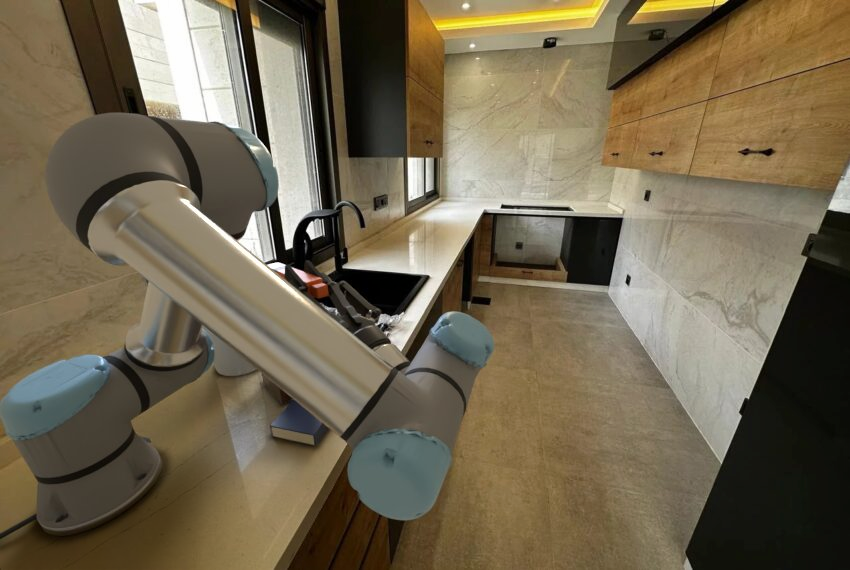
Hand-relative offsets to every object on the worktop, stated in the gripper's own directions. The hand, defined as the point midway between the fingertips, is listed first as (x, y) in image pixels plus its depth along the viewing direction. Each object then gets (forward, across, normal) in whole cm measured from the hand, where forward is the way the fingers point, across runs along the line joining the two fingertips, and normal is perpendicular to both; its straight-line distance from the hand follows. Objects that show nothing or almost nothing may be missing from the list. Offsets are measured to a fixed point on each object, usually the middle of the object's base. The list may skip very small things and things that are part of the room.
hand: (296, 268), depth 59 cm
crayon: (0, 0, -4) cm, 4 cm away
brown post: (0, 0, -38) cm, 38 cm away
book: (-13, -1, -32) cm, 35 cm away
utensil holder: (+17, -4, -46) cm, 49 cm away
